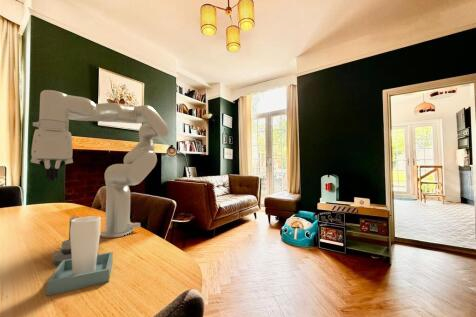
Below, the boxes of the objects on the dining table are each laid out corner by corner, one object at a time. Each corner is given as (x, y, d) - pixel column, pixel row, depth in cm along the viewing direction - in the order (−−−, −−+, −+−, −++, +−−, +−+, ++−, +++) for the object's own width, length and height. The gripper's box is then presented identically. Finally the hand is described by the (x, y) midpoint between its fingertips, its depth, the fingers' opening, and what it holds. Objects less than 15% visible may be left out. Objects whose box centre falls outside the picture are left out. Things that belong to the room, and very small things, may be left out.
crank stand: (88, 260, 65) (88, 250, 65) (50, 268, 59) (51, 258, 59) (87, 244, 77) (87, 236, 77) (56, 250, 72) (56, 242, 72)
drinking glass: (74, 283, 50) (76, 223, 51) (64, 275, 54) (66, 219, 55) (103, 271, 56) (105, 218, 57) (92, 265, 60) (94, 214, 60)
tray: (112, 262, 63) (112, 251, 64) (108, 281, 53) (109, 269, 53) (62, 271, 58) (62, 260, 58) (46, 296, 47) (46, 282, 47)
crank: (80, 250, 65) (81, 222, 65) (60, 254, 62) (61, 225, 62) (82, 241, 74) (83, 215, 74) (64, 244, 71) (65, 217, 71)
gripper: (20, 122, 61) (17, 182, 61) (81, 128, 71) (79, 180, 70) (25, 126, 67) (23, 180, 67) (81, 131, 77) (80, 178, 76)
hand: (52, 180), depth 68 cm, fingers closed
